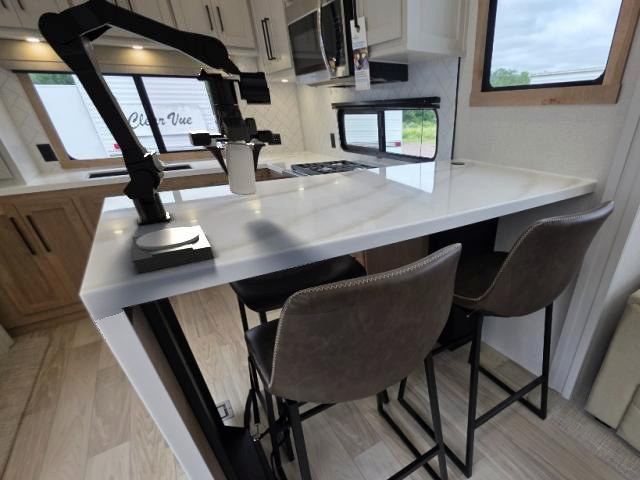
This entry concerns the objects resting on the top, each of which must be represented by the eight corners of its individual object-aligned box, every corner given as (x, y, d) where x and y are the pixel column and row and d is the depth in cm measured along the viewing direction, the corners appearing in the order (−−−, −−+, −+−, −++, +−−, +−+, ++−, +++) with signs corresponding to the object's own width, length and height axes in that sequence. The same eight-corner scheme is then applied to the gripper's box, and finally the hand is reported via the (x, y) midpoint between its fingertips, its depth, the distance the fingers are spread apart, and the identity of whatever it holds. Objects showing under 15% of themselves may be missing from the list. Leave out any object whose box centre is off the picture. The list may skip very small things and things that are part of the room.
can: (261, 193, 90) (257, 145, 84) (240, 195, 84) (234, 144, 79) (245, 189, 92) (240, 142, 87) (224, 191, 87) (217, 141, 82)
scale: (136, 248, 67) (130, 233, 65) (202, 236, 73) (198, 222, 71) (138, 273, 57) (131, 256, 56) (214, 257, 63) (209, 242, 62)
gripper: (185, 105, 68) (207, 183, 76) (275, 105, 77) (286, 175, 85) (179, 104, 76) (199, 175, 84) (262, 104, 85) (273, 168, 93)
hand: (241, 173), depth 86 cm, fingers closed on can, 7 cm apart
